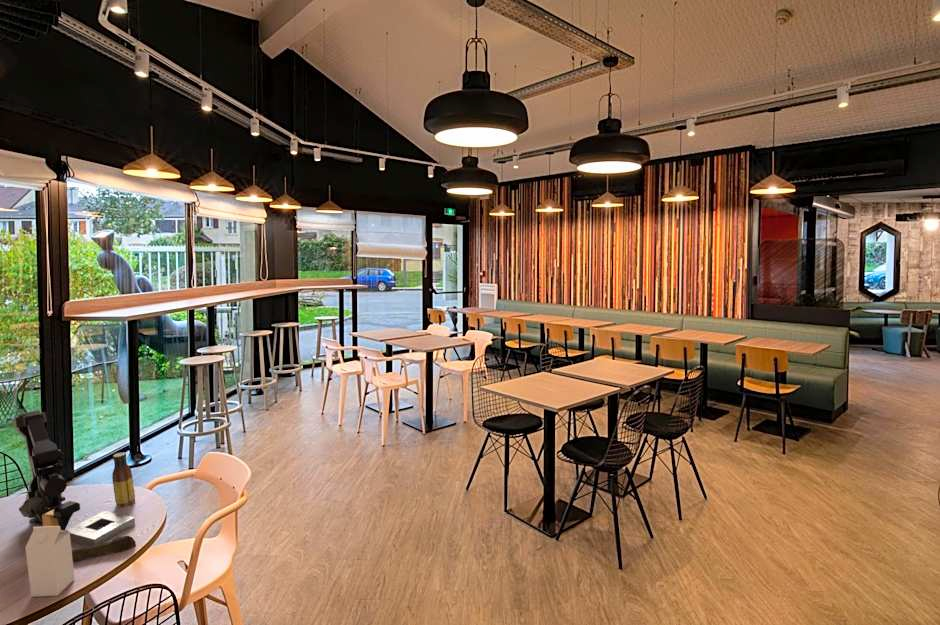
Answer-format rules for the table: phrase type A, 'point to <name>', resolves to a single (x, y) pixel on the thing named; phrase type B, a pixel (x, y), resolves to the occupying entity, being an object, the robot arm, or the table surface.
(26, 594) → the table surface
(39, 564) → the milk carton
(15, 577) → the table surface
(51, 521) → the orange rectangular block
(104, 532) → the grey square hole board
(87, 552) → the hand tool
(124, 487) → the sauce bottle
